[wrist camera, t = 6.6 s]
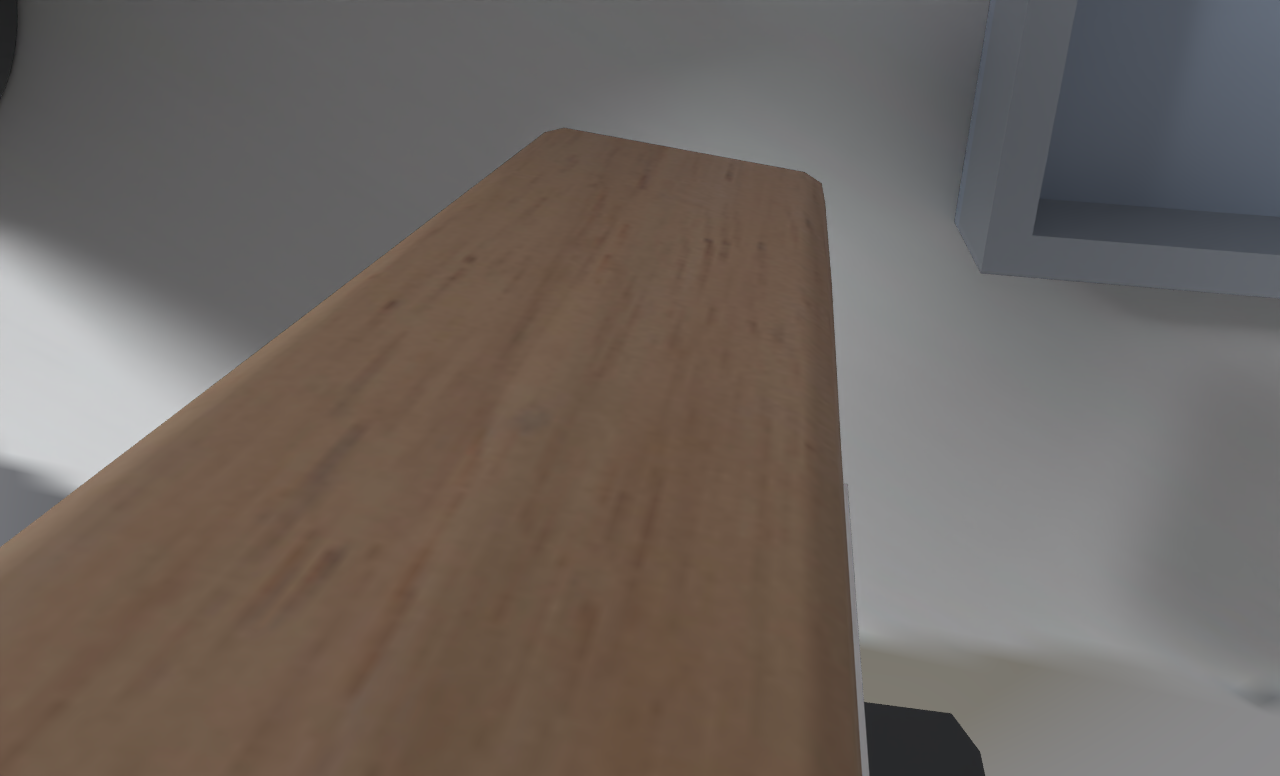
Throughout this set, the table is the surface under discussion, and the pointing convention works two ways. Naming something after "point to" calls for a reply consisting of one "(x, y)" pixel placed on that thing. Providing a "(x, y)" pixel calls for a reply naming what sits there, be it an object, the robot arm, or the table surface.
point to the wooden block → (480, 510)
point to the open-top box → (1127, 144)
